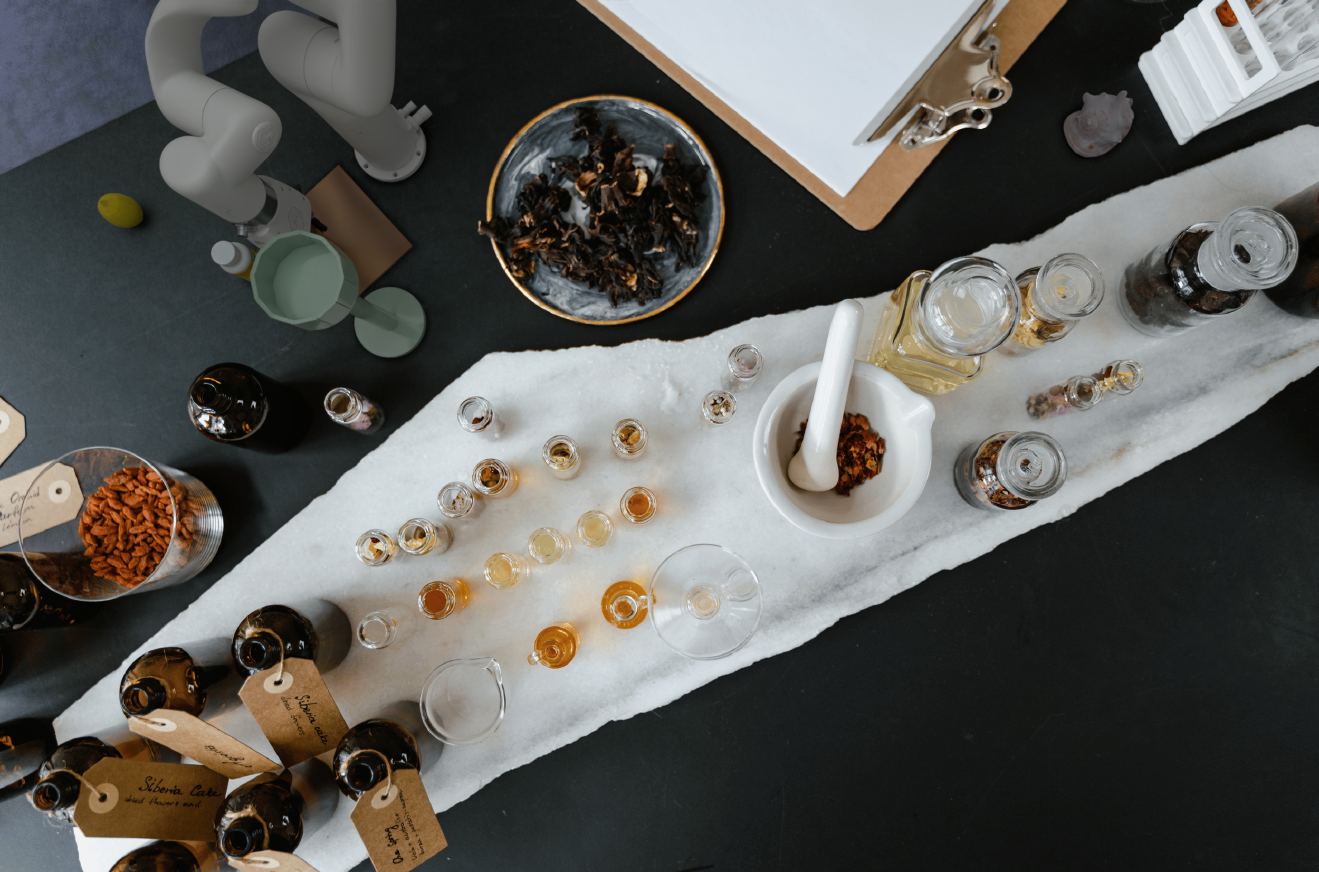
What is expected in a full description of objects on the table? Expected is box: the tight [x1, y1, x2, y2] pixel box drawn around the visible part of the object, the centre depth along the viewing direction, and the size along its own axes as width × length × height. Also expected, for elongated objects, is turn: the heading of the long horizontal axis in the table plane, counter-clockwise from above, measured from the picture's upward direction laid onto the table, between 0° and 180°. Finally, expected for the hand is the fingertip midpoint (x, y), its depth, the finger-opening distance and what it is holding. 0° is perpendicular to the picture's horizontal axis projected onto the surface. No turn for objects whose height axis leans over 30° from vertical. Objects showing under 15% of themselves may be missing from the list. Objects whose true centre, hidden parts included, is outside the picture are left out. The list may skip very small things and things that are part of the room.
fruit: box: [97, 192, 144, 229], centre depth 115 cm, size 6×6×8 cm
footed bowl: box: [250, 230, 427, 359], centre depth 102 cm, size 12×12×29 cm
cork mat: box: [304, 164, 414, 297], centre depth 118 cm, size 20×20×1 cm
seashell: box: [1063, 90, 1135, 158], centre depth 110 cm, size 10×12×9 cm
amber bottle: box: [310, 224, 343, 251], centre depth 110 cm, size 5×5×9 cm
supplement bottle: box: [210, 240, 259, 283], centre depth 113 cm, size 5×5×10 cm
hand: (317, 245), depth 111 cm, fingers closed on amber bottle, 4 cm apart
